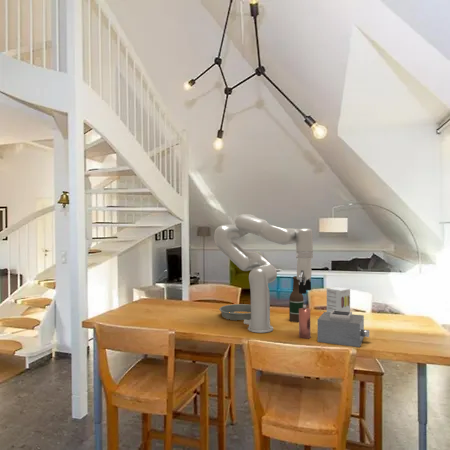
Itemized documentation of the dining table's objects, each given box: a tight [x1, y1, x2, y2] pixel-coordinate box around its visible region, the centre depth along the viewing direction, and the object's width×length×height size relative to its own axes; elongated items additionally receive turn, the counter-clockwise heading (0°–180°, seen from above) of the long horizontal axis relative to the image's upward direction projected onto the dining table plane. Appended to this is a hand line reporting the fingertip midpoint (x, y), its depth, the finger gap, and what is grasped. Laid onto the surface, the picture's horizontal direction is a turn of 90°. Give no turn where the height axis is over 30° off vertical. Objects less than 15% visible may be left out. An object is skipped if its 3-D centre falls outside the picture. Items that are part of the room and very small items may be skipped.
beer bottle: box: [288, 275, 305, 323], centre depth 208 cm, size 8×8×24 cm
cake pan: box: [219, 303, 251, 321], centre depth 220 cm, size 25×25×4 cm
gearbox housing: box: [316, 310, 370, 348], centre depth 174 cm, size 21×16×12 cm
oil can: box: [298, 304, 311, 340], centre depth 179 cm, size 5×5×15 cm
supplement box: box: [326, 286, 351, 312], centre depth 211 cm, size 10×9×17 cm
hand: (305, 291), depth 179 cm, fingers open, 9 cm apart
